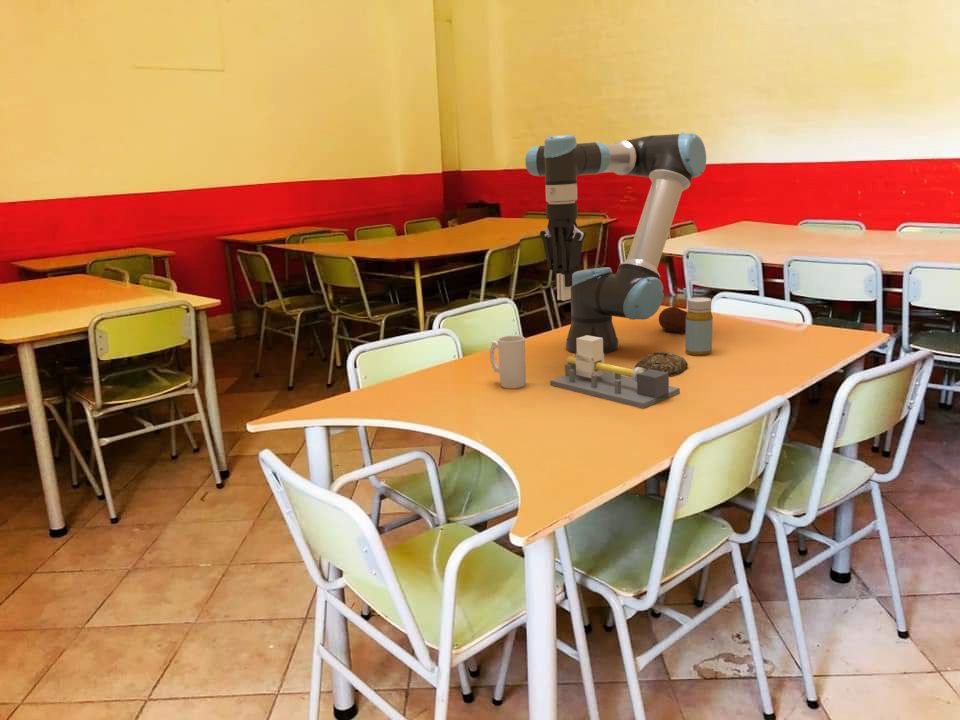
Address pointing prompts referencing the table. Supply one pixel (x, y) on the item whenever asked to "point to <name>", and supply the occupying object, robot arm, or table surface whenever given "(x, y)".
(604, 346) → the robot arm
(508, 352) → the mug
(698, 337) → the bottle
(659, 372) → the yellow rod slider
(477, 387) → the table surface
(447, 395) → the table surface
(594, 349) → the sleeve
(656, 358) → the bread roll
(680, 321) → the potato
